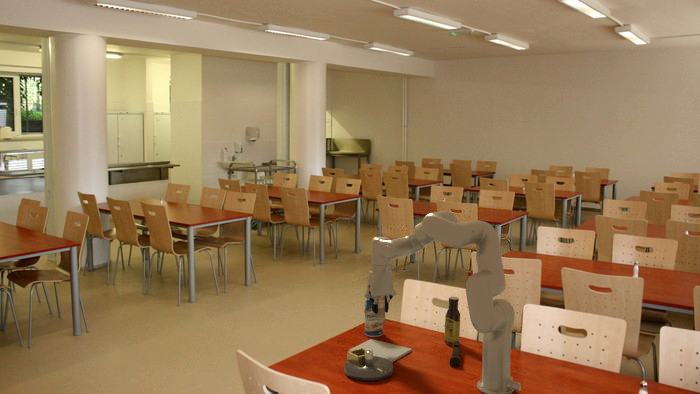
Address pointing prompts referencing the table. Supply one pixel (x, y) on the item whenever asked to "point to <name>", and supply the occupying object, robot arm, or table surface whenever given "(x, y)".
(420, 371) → the table surface
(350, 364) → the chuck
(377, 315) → the beige rounded cylinder
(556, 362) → the table surface
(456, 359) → the hand tool
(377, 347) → the mat
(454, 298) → the sauce bottle
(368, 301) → the beverage bottle
